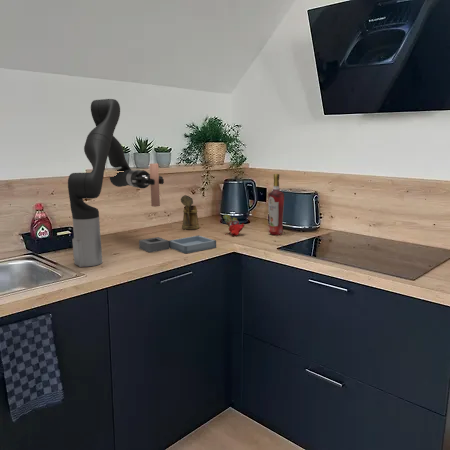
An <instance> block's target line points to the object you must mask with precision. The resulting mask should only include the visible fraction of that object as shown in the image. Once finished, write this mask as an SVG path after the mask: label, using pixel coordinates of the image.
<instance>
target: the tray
mask: <svg viewBox="0 0 450 450" xmlns="http://www.w3.org/2000/svg"><path fill="white" fill-rule="evenodd" d="M168 241H169V249H171V250H174V251H177V252H180V253H183V254H185V255H186V254H190V253H191V254H192V253H196V252H202V251H206V250H207V251H208V250H212V249H216V248H217V240H215V239H212V238H208V237H206V236H202V235H193V236H187V237H183V238H177V239H170V240H168Z"/></svg>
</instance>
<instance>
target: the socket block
mask: <svg viewBox="0 0 450 450" xmlns="http://www.w3.org/2000/svg"><path fill="white" fill-rule="evenodd" d="M169 241H170V240H167V239H166V238H162V237H159V236H157V237H156V236H155V237H151V238H145V239H139V240H138V247H139V250H142V251H145V252H147V253H155V252H160V251H167V250H170V248H169Z"/></svg>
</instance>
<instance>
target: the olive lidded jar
mask: <svg viewBox="0 0 450 450" xmlns="http://www.w3.org/2000/svg"><path fill="white" fill-rule="evenodd" d="M180 202H181V204H182V205H183V206H184V208H183V211H182V212H183V217H182V225H181V229H182V230H185V229H186V230H187V231H190V230H191V231H195V230H198V229H200V223H199V218H198V216H199V215H198V208H197V206H196V205H193V204H194V200H193V198H192V197H191V196H189V195H186V194H185V195H182V196H181V197H180Z"/></svg>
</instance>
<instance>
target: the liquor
mask: <svg viewBox="0 0 450 450" xmlns="http://www.w3.org/2000/svg"><path fill="white" fill-rule="evenodd" d="M267 196H268V215H269V216H268V217H269V230H268V232H269V233H270V235H273V236H280V235H282V234H283V233H284V230H283V229H284V228H283V226H284V224H283V223H284V208H285V193H284V192H283V191H281V190H280V173H273V187H272V191H270V192H269V193H268V195H267Z"/></svg>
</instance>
